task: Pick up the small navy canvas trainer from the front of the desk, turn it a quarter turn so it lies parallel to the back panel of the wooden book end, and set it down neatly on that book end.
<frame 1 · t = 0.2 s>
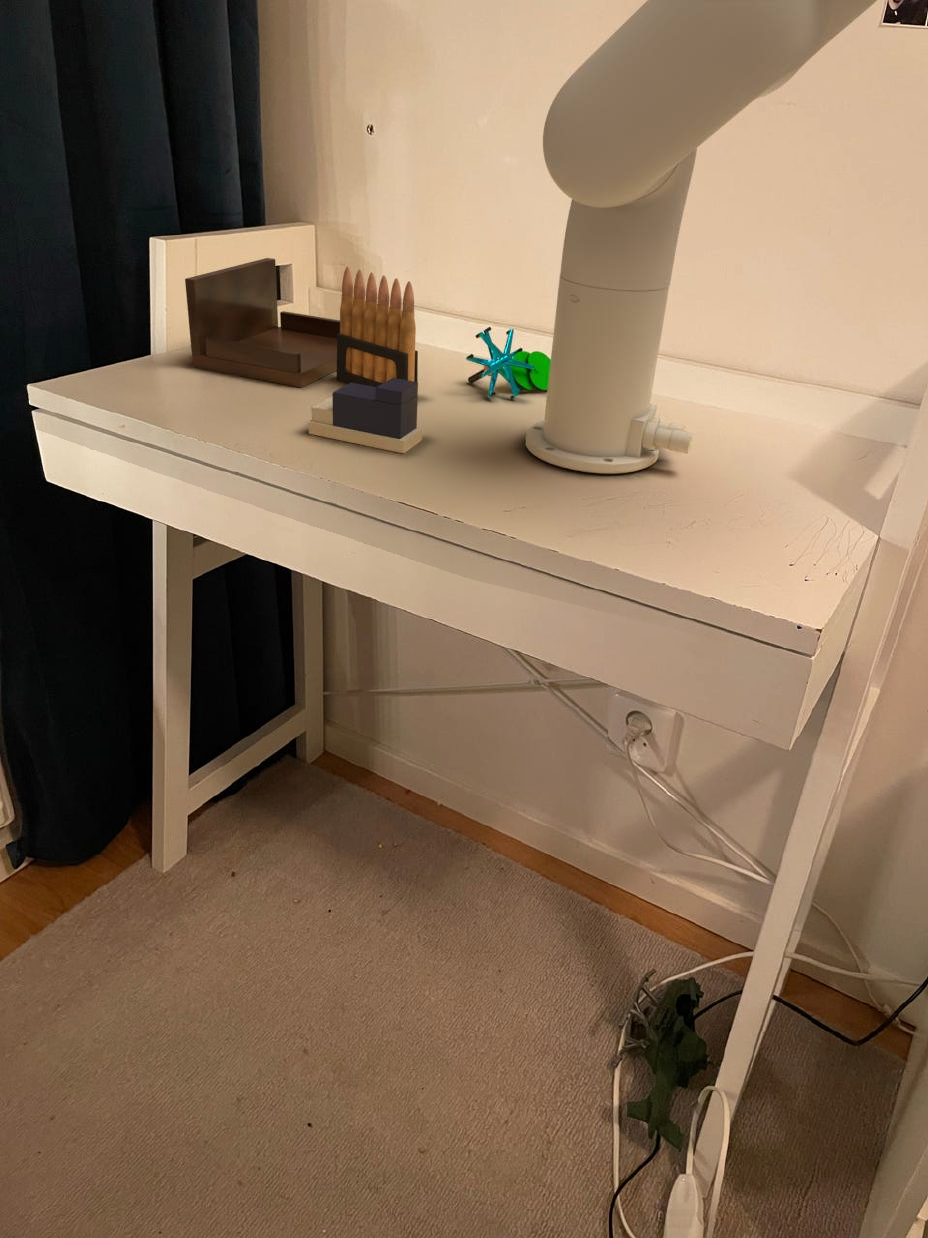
wooden book end: (284, 360, 109), on the table
ammunition clip: (376, 390, 101), on the table
stick construction toy: (504, 390, 104), on the table
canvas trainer: (365, 437, 88), on the table
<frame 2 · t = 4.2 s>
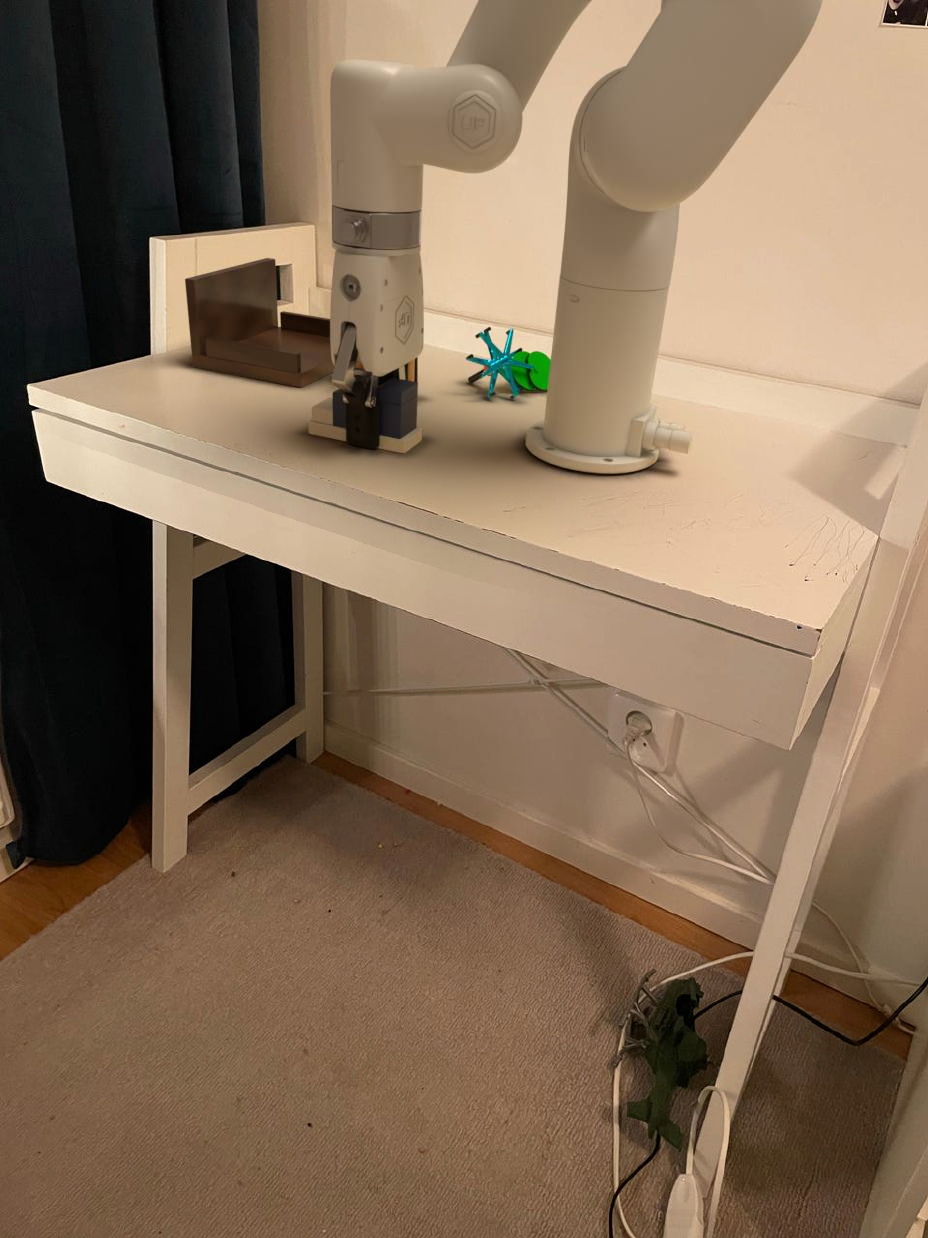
hand: (374, 435, 88), 0 cm above the table, tool pointing down, fingers closed on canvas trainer, 4 cm apart
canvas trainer: (365, 437, 88), on the table, touching gripper
everything else where it was.
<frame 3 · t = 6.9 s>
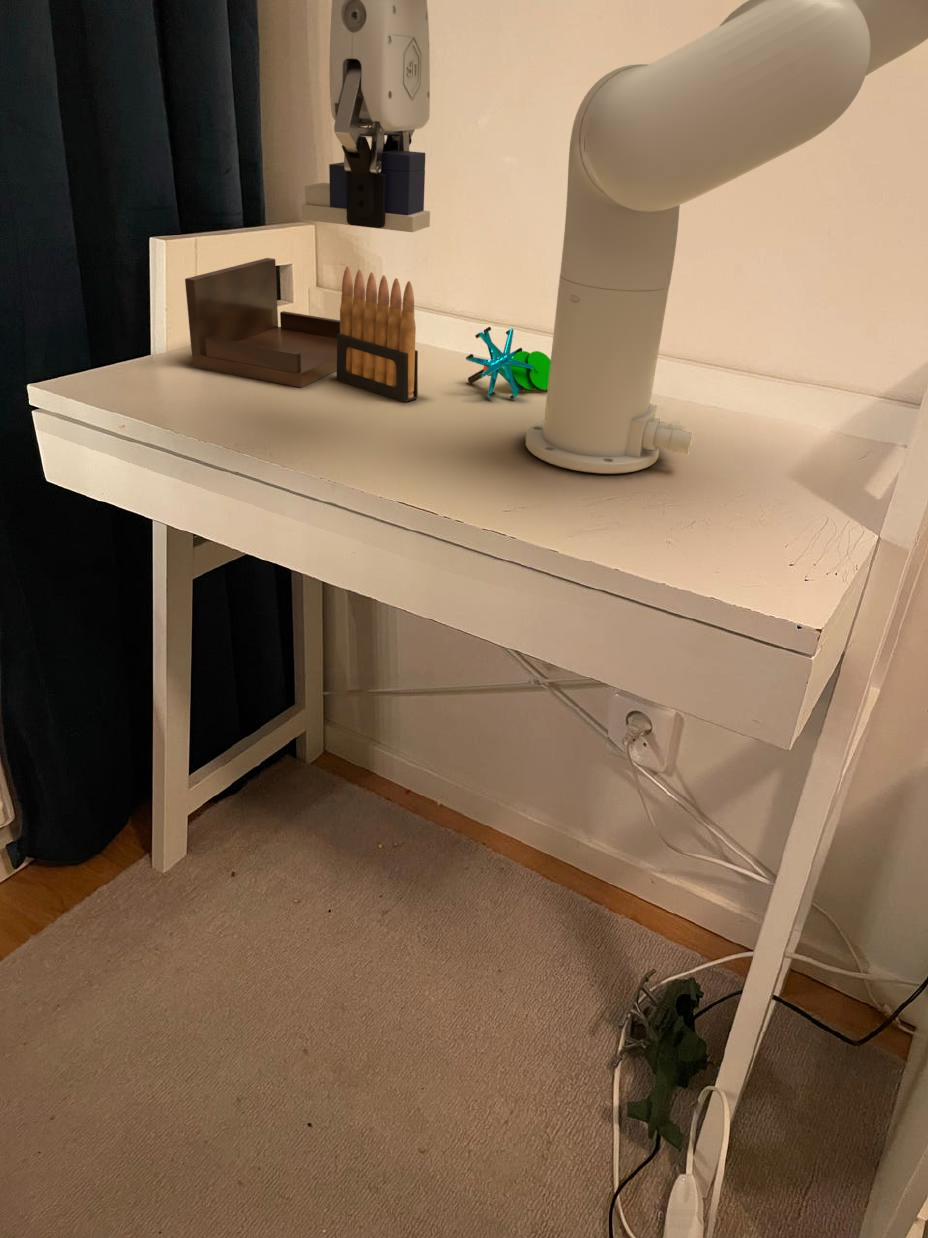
hand: (377, 220, 78), 19 cm above the table, tool pointing down, fingers closed on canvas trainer, 4 cm apart
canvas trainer: (366, 222, 78), point 19 cm above the table, touching gripper
everything else where it was.
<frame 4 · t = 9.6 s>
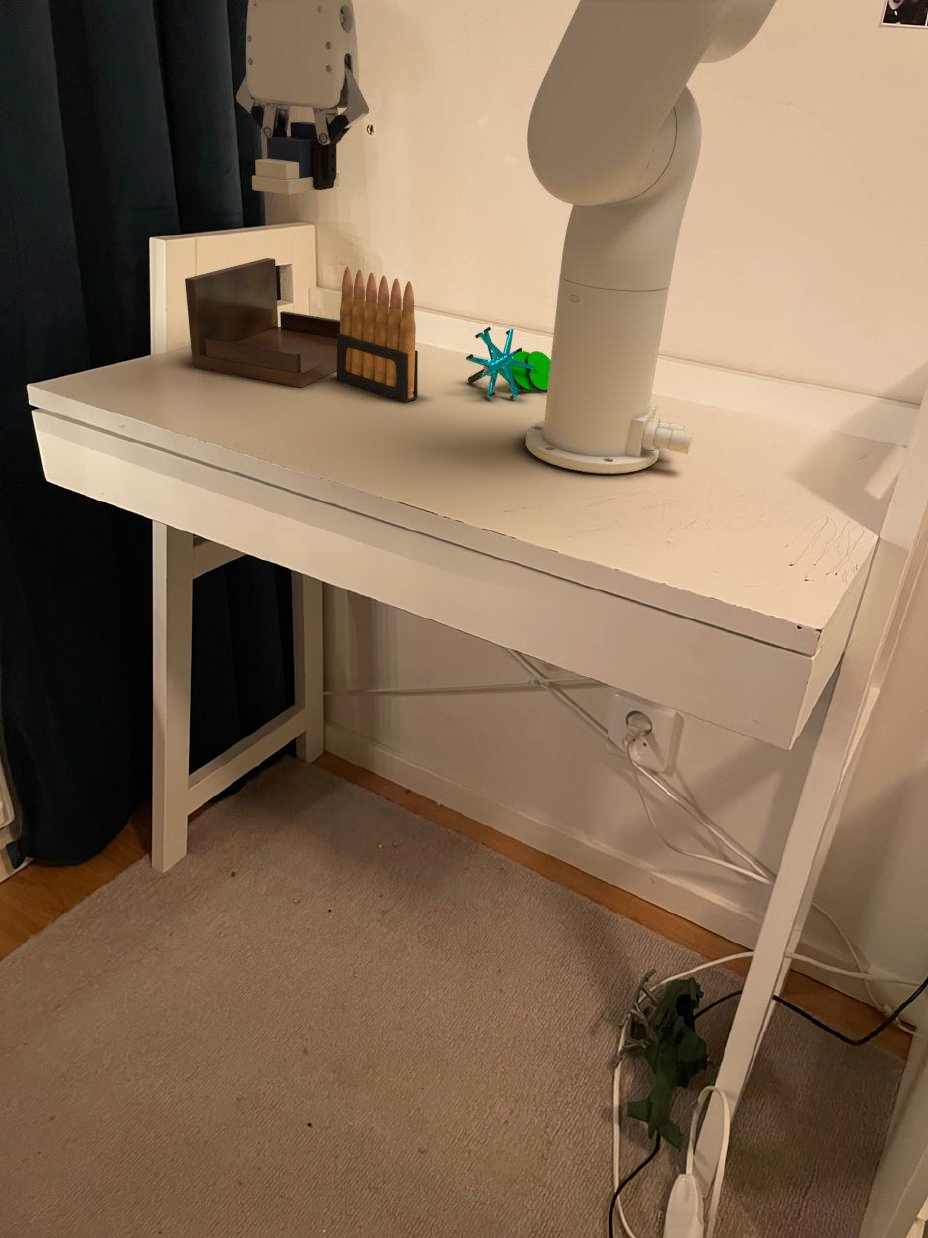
hand: (302, 183, 93), 20 cm above the table, tool pointing down, fingers closed on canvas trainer, 4 cm apart
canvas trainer: (297, 187, 92), point 19 cm above the table, touching gripper
everything else where it was.
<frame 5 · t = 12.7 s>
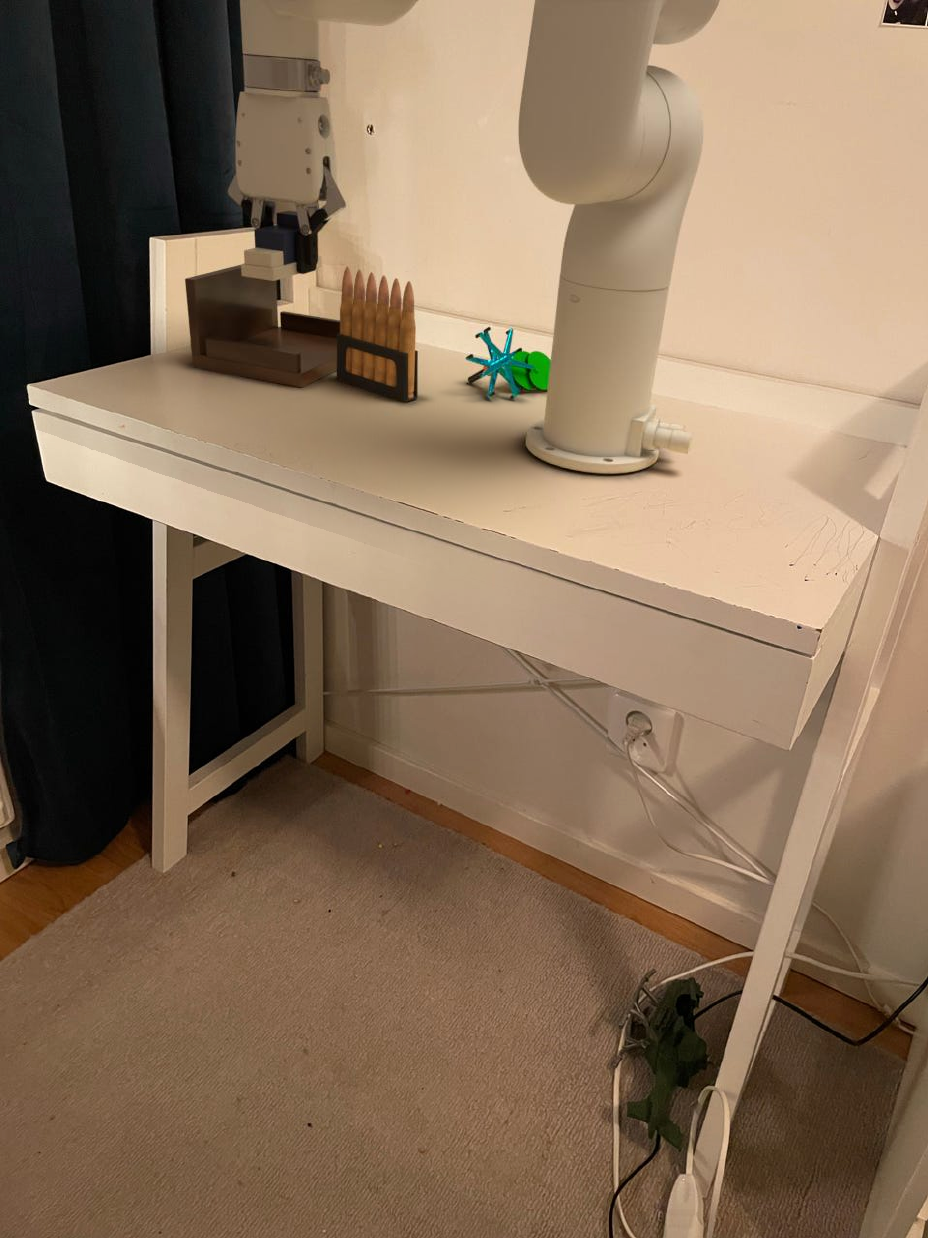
hand: (288, 267, 103), 10 cm above the table, tool pointing down, fingers closed on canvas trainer, 4 cm apart
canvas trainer: (282, 271, 102), point 10 cm above the table, touching gripper
everything else where it was.
when the fingers open (2 cm above the table, at t = 15.4 s): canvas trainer stays where it is, resting on wooden book end.
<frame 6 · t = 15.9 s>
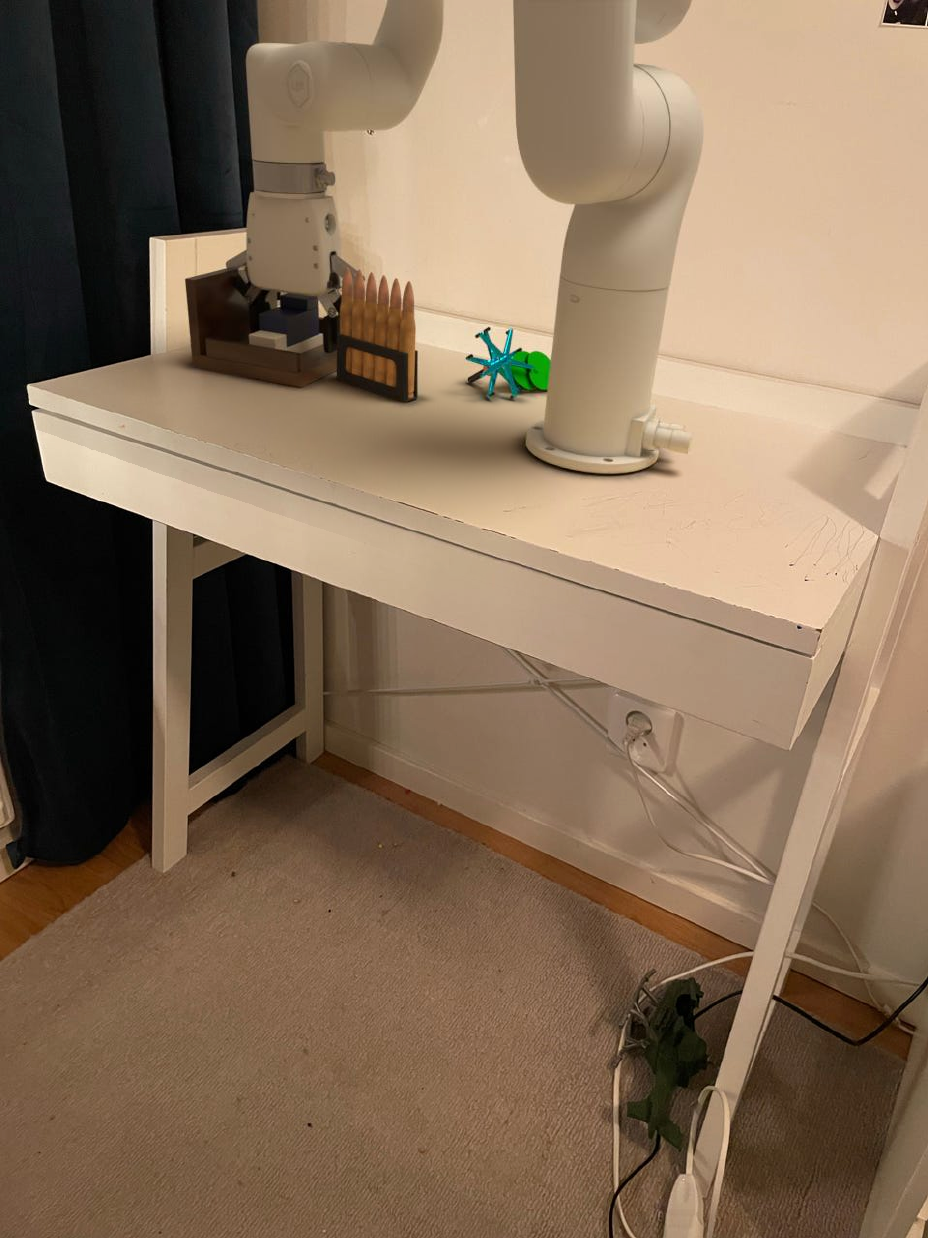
hand: (297, 344, 107), 2 cm above the table, tool pointing down, fingers open, 9 cm apart
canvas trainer: (286, 350, 107), point 1 cm above the table, touching wooden book end
everything else where it was.
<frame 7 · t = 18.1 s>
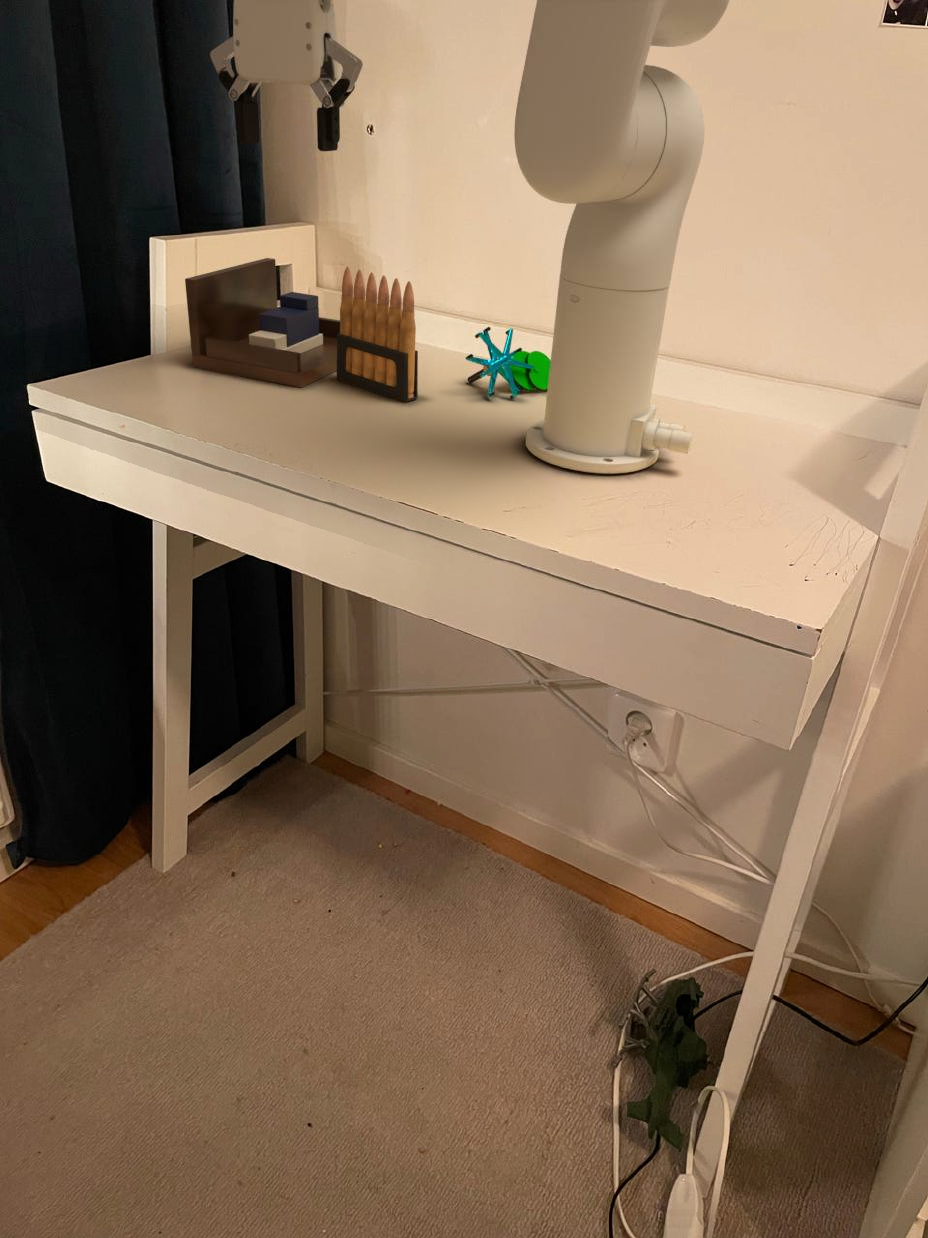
hand: (288, 146, 99), 22 cm above the table, tool pointing down, fingers open, 9 cm apart
nothing on the table moved.
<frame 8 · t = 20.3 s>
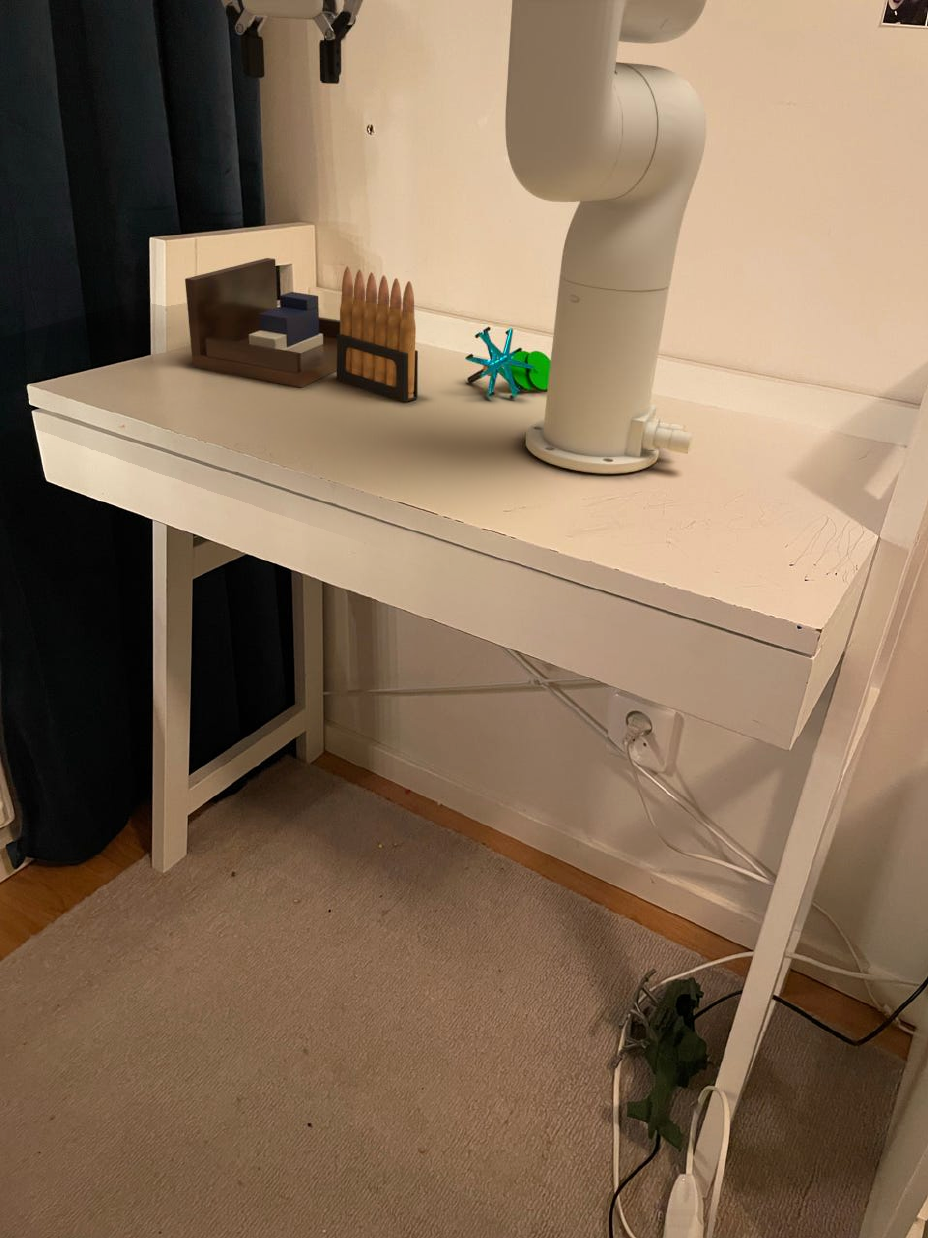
hand: (291, 80, 103), 28 cm above the table, tool pointing down, fingers open, 9 cm apart
nothing on the table moved.
at the end: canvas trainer inside the target area on the wooden book end (1.1 cm from its centre), point 1.5 cm above the wooden book end's base; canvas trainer tilted 0° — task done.
